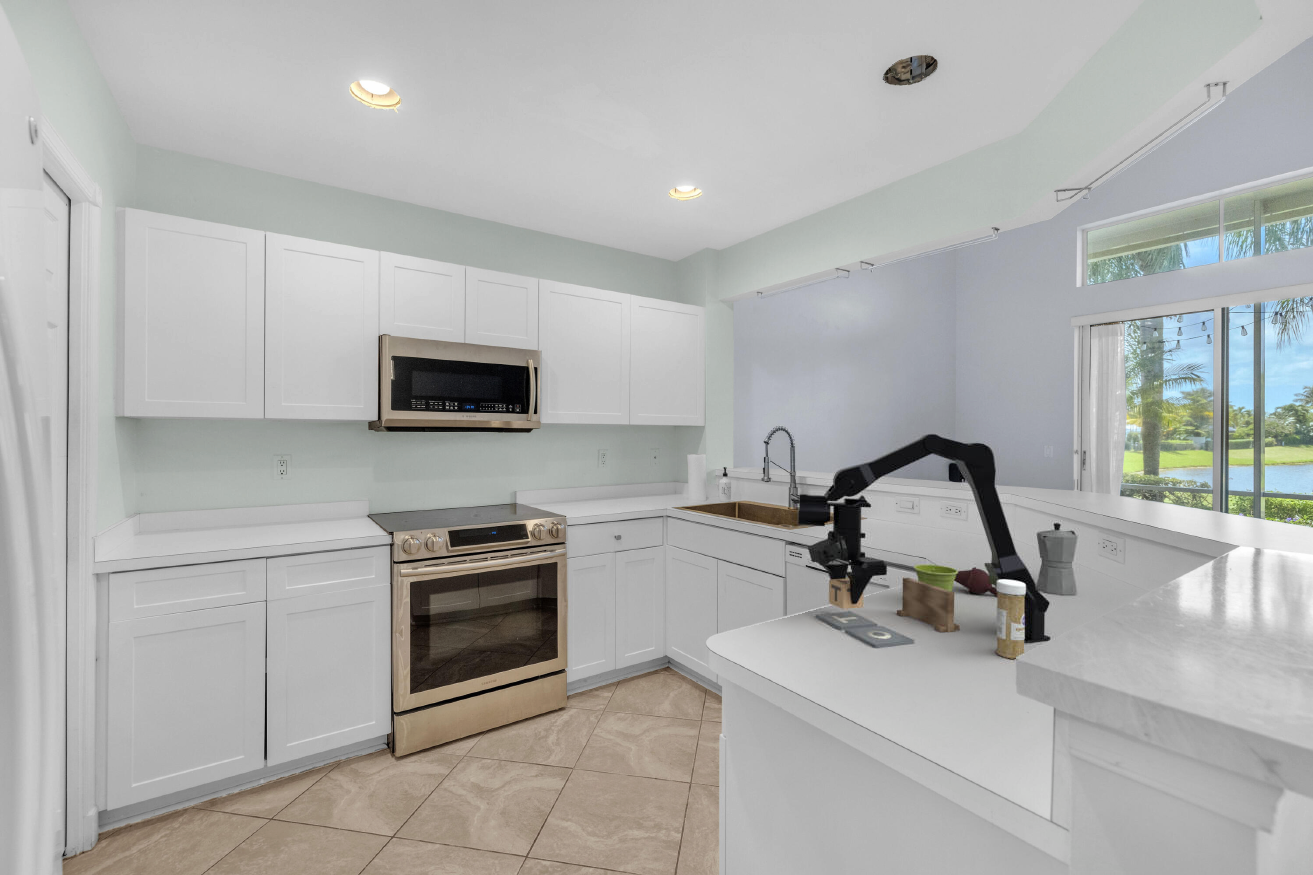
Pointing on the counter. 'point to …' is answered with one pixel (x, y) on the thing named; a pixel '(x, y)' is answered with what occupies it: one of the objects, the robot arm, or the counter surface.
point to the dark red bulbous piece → (975, 581)
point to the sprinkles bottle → (1010, 618)
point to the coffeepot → (1057, 561)
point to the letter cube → (842, 594)
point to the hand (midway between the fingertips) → (846, 600)
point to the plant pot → (936, 575)
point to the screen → (928, 605)
